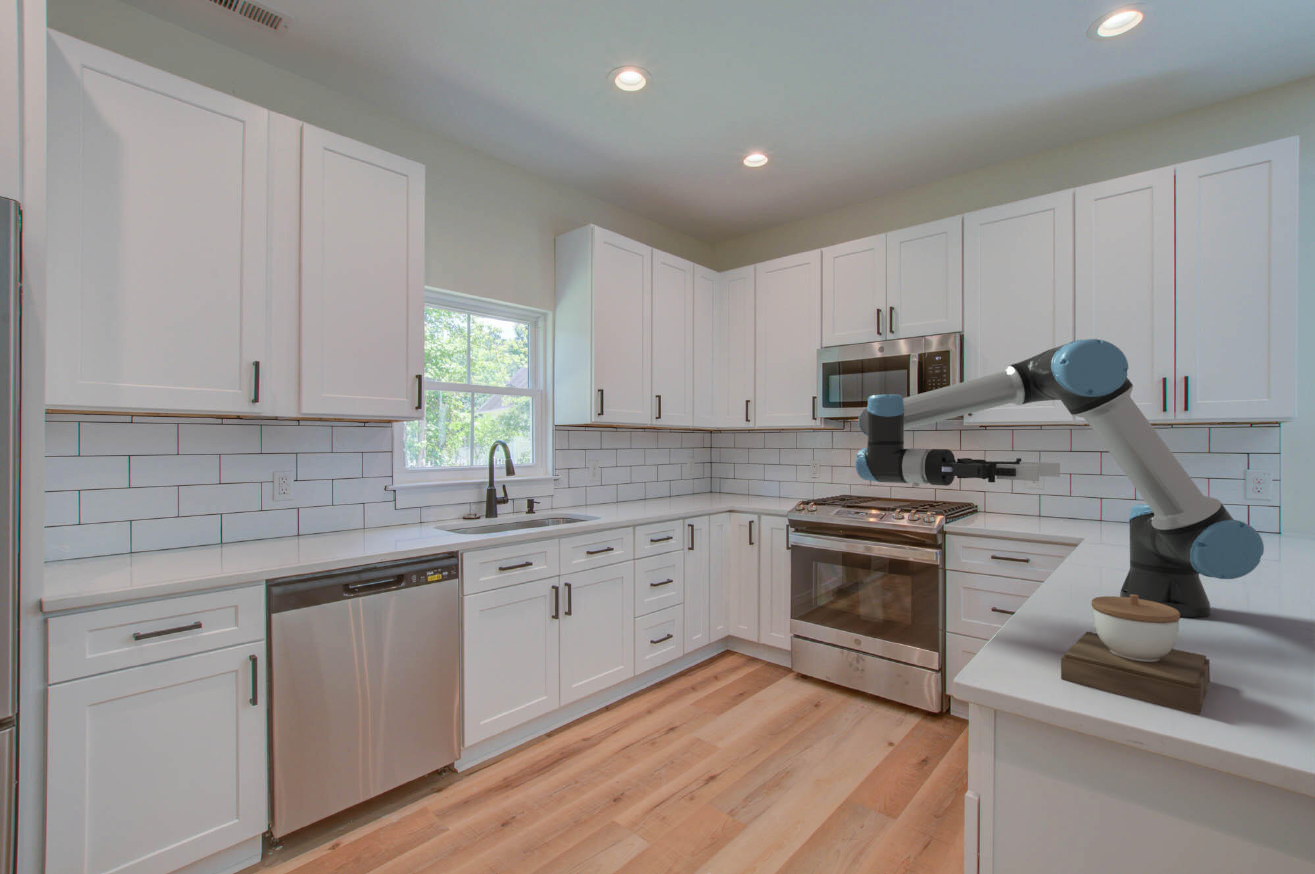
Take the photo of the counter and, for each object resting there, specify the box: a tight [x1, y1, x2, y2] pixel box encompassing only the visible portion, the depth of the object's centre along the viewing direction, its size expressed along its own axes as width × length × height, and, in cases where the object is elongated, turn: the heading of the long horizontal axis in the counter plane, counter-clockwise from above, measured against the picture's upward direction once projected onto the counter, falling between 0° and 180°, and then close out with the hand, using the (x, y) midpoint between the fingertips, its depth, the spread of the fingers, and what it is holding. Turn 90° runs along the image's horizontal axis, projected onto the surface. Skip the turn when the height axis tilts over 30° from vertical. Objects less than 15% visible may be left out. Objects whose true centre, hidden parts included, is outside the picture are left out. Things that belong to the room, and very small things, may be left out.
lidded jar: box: [1091, 594, 1181, 662], centre depth 91 cm, size 11×11×9 cm
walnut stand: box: [1060, 631, 1211, 715], centre depth 91 cm, size 16×16×4 cm
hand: (1049, 471), depth 105 cm, fingers open, 13 cm apart
